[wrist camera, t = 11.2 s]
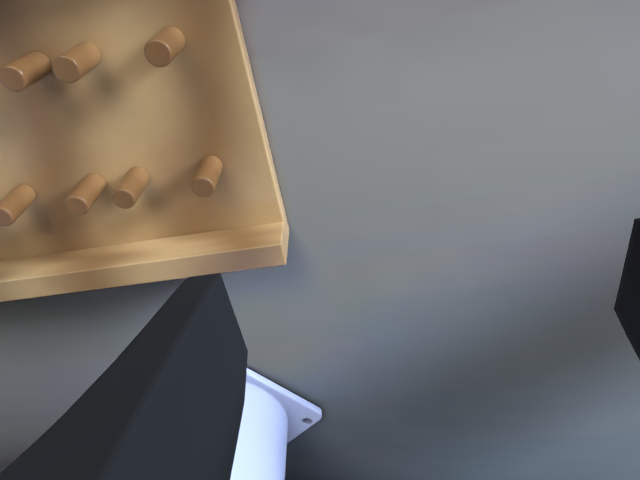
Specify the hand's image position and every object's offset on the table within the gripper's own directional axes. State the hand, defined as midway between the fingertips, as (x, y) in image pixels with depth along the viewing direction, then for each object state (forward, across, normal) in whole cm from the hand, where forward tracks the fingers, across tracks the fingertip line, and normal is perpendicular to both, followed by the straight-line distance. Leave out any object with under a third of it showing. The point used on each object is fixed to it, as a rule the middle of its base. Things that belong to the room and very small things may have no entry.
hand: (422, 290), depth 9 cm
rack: (+10, +12, -1) cm, 16 cm away
